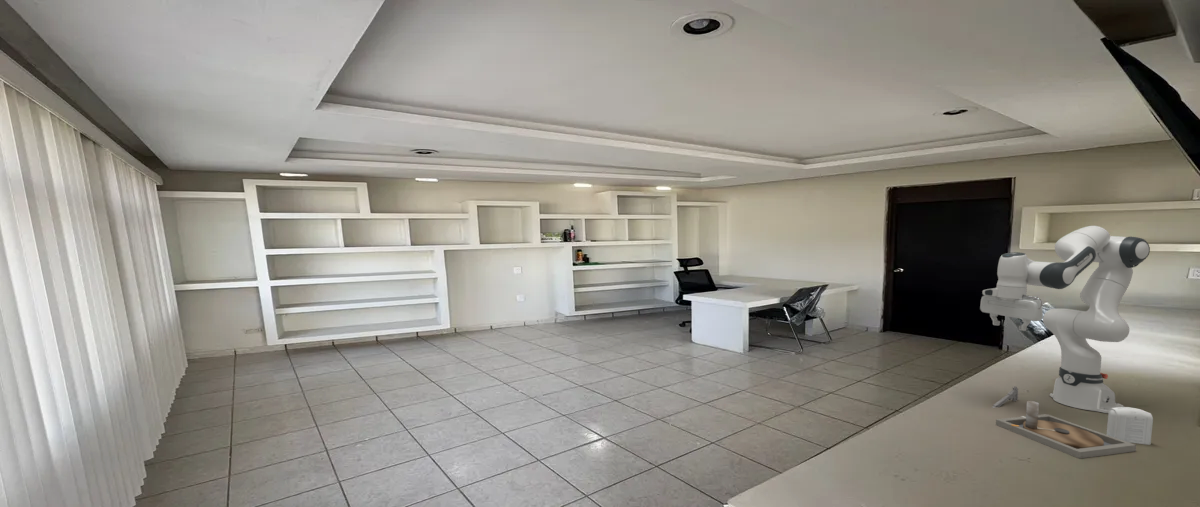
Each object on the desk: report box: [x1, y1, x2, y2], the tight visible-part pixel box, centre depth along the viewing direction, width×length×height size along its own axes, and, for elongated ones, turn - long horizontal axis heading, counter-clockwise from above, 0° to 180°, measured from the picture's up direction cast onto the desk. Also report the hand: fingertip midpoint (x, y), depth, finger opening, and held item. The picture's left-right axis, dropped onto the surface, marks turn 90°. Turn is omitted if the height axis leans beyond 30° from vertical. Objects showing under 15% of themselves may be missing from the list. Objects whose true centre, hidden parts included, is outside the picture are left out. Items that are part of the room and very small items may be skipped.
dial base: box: [995, 413, 1137, 459], centre depth 151 cm, size 24×24×3 cm
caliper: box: [991, 386, 1019, 409], centre depth 182 cm, size 20×1×6 cm, turn 117°
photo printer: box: [1106, 406, 1154, 446], centre depth 149 cm, size 10×4×12 cm, turn 72°
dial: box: [1023, 400, 1104, 449], centre depth 151 cm, size 19×19×11 cm
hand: (1008, 327), depth 176 cm, fingers open, 8 cm apart
